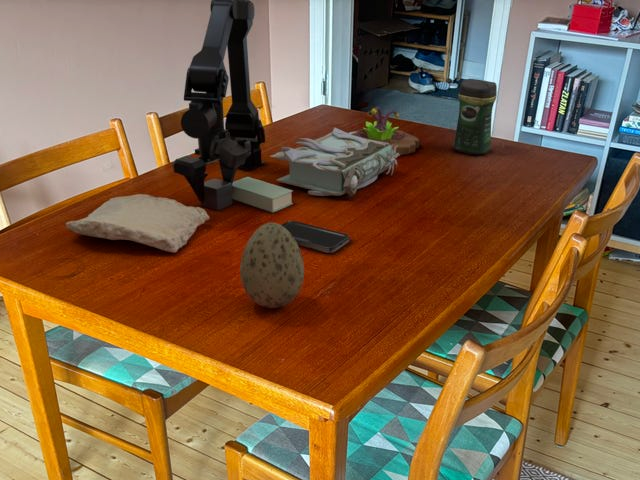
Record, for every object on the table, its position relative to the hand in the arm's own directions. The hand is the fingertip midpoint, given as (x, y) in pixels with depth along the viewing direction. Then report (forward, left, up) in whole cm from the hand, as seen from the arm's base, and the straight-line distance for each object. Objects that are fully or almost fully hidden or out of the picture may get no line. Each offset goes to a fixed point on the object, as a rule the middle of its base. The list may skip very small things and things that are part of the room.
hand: (215, 196), depth 166 cm
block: (0, 0, -2) cm, 2 cm away
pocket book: (+6, +8, -2) cm, 10 cm away
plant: (+7, +58, -2) cm, 59 cm away
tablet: (-2, -22, -2) cm, 22 cm away
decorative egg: (+39, -29, -2) cm, 48 cm away
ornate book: (+12, +31, -2) cm, 34 cm away
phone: (+28, -3, -2) cm, 28 cm away
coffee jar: (+29, +71, -2) cm, 77 cm away
